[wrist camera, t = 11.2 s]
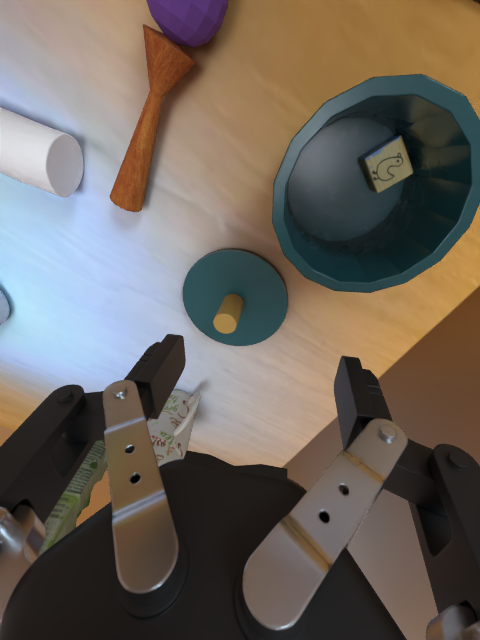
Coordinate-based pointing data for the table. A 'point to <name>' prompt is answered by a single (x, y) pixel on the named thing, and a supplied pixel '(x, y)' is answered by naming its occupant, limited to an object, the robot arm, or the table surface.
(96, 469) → the pouch
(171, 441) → the mug
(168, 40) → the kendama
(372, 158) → the alphabet block
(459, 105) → the container
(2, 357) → the table surface
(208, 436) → the table surface
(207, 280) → the teal pot lid
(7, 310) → the plastic bottle
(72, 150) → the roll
